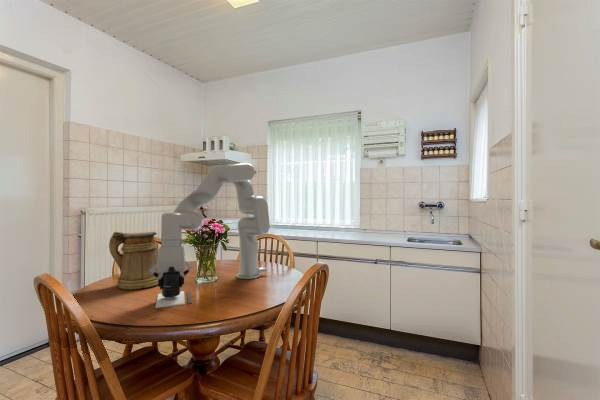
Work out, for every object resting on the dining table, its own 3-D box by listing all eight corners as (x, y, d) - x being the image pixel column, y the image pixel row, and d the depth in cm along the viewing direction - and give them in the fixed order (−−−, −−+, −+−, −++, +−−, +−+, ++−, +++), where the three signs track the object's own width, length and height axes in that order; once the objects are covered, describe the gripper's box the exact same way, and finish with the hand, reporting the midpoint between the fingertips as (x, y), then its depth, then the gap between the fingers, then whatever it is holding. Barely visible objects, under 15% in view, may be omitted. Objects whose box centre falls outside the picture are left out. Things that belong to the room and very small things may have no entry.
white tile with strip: (190, 291, 129) (190, 290, 129) (192, 303, 114) (192, 302, 114) (158, 294, 124) (158, 293, 124) (155, 307, 109) (155, 306, 109)
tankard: (155, 289, 131) (156, 233, 131) (97, 291, 128) (98, 234, 128) (167, 278, 149) (167, 229, 149) (117, 280, 146) (117, 229, 146)
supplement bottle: (162, 298, 114) (162, 267, 114) (161, 293, 120) (161, 264, 120) (181, 296, 117) (181, 266, 117) (179, 291, 123) (179, 262, 123)
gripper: (194, 241, 126) (193, 282, 126) (148, 243, 119) (148, 287, 119) (194, 243, 119) (194, 287, 119) (146, 245, 112) (146, 292, 112)
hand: (171, 287), depth 119 cm, fingers closed on supplement bottle, 6 cm apart
